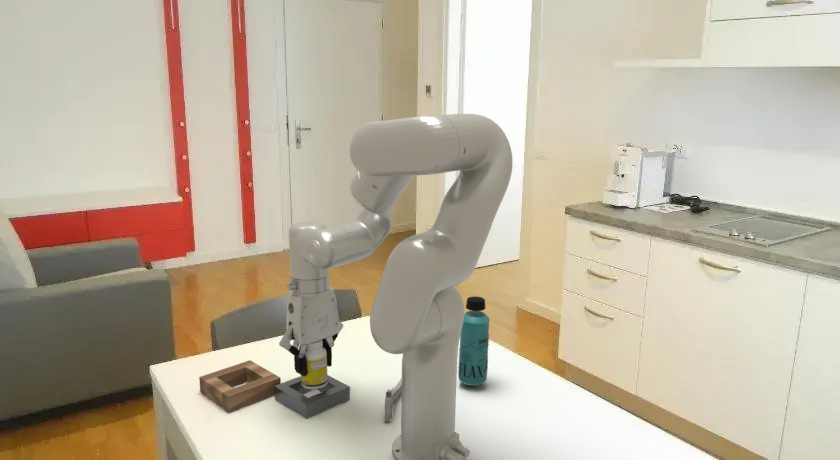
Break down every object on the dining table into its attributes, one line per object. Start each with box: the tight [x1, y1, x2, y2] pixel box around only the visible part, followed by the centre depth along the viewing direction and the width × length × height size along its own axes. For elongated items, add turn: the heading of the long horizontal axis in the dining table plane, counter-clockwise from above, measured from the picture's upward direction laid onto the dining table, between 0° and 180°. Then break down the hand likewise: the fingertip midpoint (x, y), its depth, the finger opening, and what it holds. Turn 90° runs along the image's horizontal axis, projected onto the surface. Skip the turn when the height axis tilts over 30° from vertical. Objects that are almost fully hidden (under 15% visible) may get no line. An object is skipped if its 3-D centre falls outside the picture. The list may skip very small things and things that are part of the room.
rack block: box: [198, 359, 282, 414], centre depth 131 cm, size 12×12×4 cm
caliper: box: [383, 377, 402, 423], centre depth 130 cm, size 20×1×6 cm, turn 170°
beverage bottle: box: [457, 296, 491, 386], centre depth 135 cm, size 6×7×20 cm
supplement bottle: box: [300, 340, 328, 390], centre depth 127 cm, size 5×5×10 cm
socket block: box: [274, 374, 351, 420], centre depth 129 cm, size 11×11×3 cm
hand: (313, 368), depth 127 cm, fingers closed on supplement bottle, 5 cm apart
